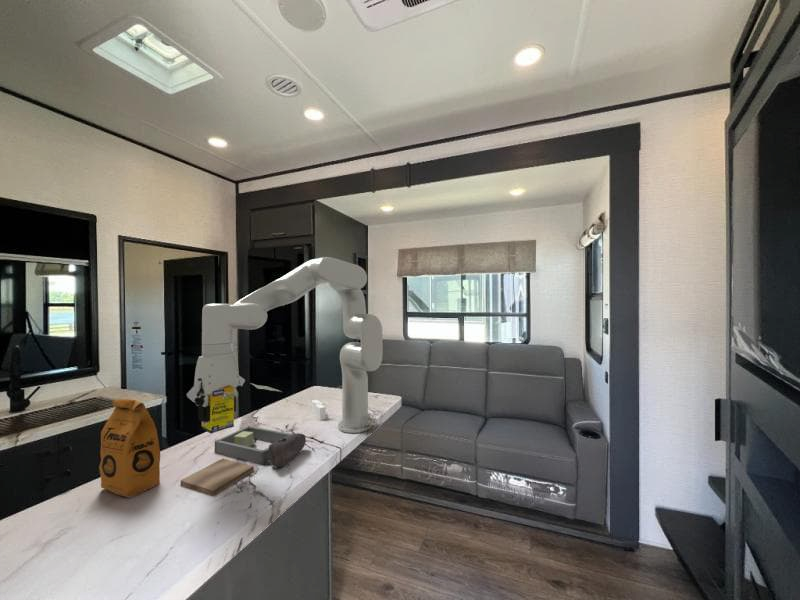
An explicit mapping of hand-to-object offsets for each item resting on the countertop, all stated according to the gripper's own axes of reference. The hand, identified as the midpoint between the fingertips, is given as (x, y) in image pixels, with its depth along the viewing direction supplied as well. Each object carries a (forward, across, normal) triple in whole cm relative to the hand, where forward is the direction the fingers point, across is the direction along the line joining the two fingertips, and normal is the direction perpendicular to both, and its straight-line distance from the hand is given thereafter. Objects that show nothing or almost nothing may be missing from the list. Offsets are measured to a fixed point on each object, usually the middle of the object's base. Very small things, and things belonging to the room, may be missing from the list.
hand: (218, 415), depth 83 cm
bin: (+16, -16, -4) cm, 23 cm away
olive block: (+17, -16, -9) cm, 25 cm away
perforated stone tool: (+17, -15, +11) cm, 25 cm away
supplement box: (+3, 0, 0) cm, 3 cm away
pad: (+17, 0, 0) cm, 17 cm away
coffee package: (+17, +11, -17) cm, 26 cm away
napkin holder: (+17, -47, -3) cm, 50 cm away
